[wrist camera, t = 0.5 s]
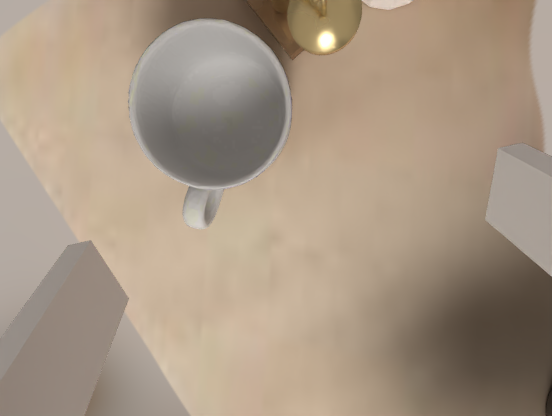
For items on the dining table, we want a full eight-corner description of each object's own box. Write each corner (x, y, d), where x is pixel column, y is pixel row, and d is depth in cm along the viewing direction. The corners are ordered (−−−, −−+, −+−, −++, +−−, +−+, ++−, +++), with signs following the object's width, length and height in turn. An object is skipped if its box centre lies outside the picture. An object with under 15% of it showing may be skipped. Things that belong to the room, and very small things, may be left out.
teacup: (203, 35, 28) (155, -11, 20) (321, 82, 27) (318, 53, 19) (155, 184, 31) (96, 195, 23) (259, 231, 30) (235, 259, 22)
